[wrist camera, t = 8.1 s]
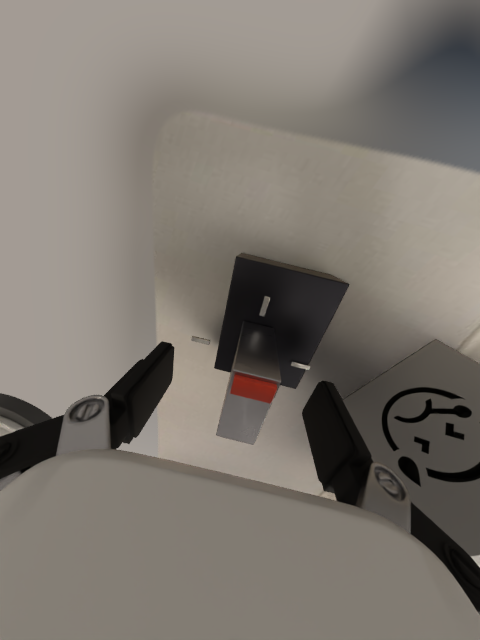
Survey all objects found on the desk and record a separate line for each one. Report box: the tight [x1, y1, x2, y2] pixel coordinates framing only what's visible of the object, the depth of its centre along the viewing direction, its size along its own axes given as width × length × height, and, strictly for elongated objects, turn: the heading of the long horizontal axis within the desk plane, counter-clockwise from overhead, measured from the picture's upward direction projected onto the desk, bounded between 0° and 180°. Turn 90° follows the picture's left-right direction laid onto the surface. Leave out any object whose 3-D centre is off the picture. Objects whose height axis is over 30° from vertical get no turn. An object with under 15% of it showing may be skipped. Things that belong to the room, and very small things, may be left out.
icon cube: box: [343, 339, 480, 567], centre depth 12 cm, size 10×10×10 cm
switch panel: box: [191, 253, 349, 389], centre depth 14 cm, size 11×9×3 cm
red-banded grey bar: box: [216, 321, 281, 445], centre depth 11 cm, size 5×2×5 cm, turn 168°
